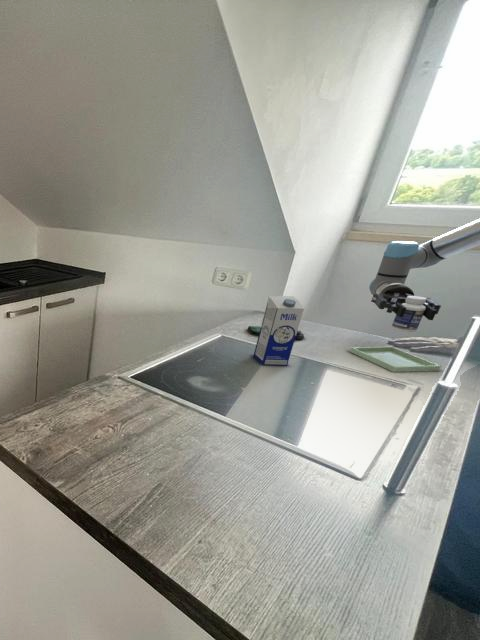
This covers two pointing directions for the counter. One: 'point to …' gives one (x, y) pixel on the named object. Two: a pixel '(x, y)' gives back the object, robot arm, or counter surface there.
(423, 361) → the tray
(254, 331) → the gun
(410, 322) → the pill bottle
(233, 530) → the counter surface
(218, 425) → the counter surface
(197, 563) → the counter surface
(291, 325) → the milk carton
